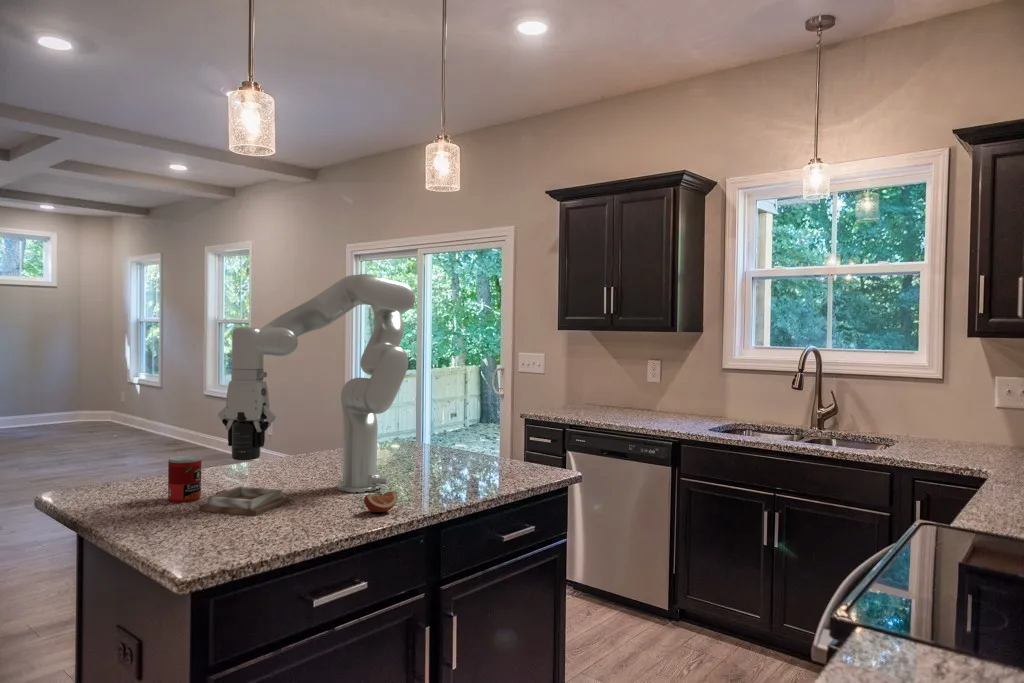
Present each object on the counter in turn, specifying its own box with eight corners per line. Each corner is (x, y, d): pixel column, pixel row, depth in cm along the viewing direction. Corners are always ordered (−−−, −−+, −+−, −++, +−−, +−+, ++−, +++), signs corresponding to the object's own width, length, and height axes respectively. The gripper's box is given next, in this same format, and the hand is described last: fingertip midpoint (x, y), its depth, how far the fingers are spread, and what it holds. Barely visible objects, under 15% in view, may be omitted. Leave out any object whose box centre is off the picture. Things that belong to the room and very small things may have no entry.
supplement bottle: (236, 455, 172) (237, 409, 172) (263, 455, 172) (264, 409, 172) (227, 460, 165) (228, 412, 165) (255, 460, 166) (256, 412, 166)
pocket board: (289, 502, 174) (289, 489, 174) (256, 515, 160) (256, 502, 160) (235, 497, 178) (235, 485, 178) (199, 510, 164) (199, 497, 164)
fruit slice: (389, 507, 171) (390, 488, 171) (402, 513, 165) (403, 493, 165) (359, 512, 165) (360, 492, 165) (372, 518, 160) (372, 497, 160)
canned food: (188, 504, 170) (188, 461, 170) (160, 502, 172) (161, 459, 171) (207, 497, 177) (208, 456, 177) (181, 495, 179) (181, 454, 179)
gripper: (286, 376, 170) (284, 446, 170) (227, 374, 174) (226, 442, 175) (268, 377, 163) (267, 450, 163) (207, 375, 167) (206, 446, 167)
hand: (246, 445), depth 169 cm, fingers closed on supplement bottle, 6 cm apart
